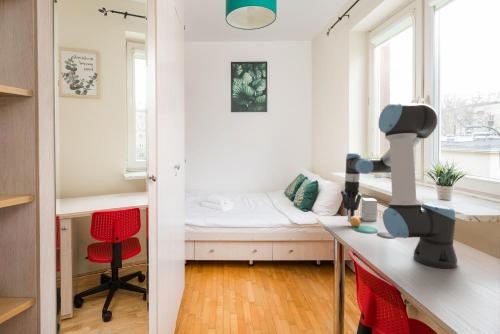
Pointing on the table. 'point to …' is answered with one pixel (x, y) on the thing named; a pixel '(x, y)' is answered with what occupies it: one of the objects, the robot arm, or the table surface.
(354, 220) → the ball
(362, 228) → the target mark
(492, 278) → the table surface
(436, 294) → the table surface
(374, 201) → the supplement box
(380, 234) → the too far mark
